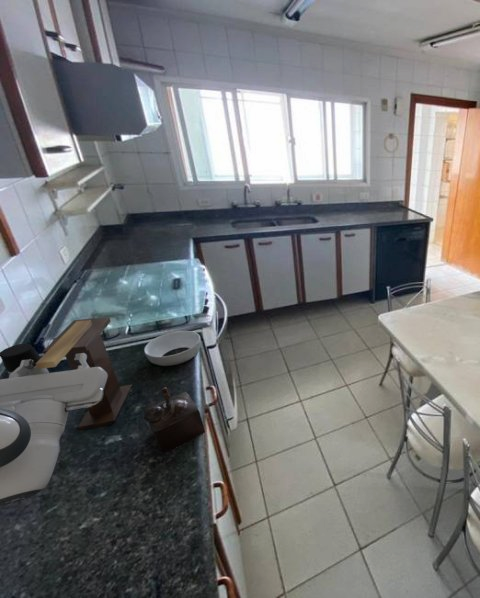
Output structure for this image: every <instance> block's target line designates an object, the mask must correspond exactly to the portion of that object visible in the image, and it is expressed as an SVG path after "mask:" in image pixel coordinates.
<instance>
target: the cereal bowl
mask: <svg viewBox="0 0 480 598" xmlns="http://www.w3.org/2000/svg"><path fill="white" fill-rule="evenodd" d="M201 347H202V339H201V336H200V334H199V333H198V332H196V331H193V330H177V331H172V332H171V331H170V332H167V333H163V334H161V335H159V336H157V337H155V338H153V339H152V340H150V341H149V342H148V343H146V345H145V346H144V349H143V351H144V354H145V357H146V358H147V360H148V361H149V362H150V363H152V364H153V365H155V366H162V367H171V366H176V365H180V364H183V363H186V362H188V361H190V360H191V359H192V358H194V357H195V356H196V355H198V353H199V351H200V350H201ZM181 348H182V349H183V348H187V349H186V350H184V351H181V352H179V353H175V354H171V355H166V354H167V353H168V352H171V351H173V350H176V349H181ZM164 355H165V356H164Z"/></svg>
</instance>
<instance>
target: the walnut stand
mask: <svg viewBox="0 0 480 598" xmlns="http://www.w3.org/2000/svg"><path fill="white" fill-rule="evenodd" d="M85 320H91V322H92V326H91V327H90V328H89V329H88V330H87V331H86V333H85V334H84V335H83V336H82V337H81V338H80V339H79V341H78V342H77V343H76V344H75V345H74V346H73V347H72V349H71V350H70V351H69V352H68V353H67V354H66V355H65V358H66V361H67V363H68V366H69V368H70V370H77V369H78V366H80V365H81V363H77V361H75V360H74V359H75V357H76V356H75V355H76V354H80V353H85V354H86V355H87V359H86V362H87V364H88V365H89V367H90V368H92V367H101V368H102V369H103V370H105V371H106V372H107V374H108V377H107V381H106V384H105V387H104V389H103V398H102V400H101V401H100V402H99V403H98V404H96V405H93V407H91V408H87V411H86V412H85V414H84V415H83V417H82V419H81V420H80V422H79V423H78V426H77V429H78V431H83V430H88V429H93V428H98V427H102V426H106V425H112V424H115V423H116V422H117V419H118V417H119V415H120V413H121V411H122V409H123V406H124V405H125V403H126V401H127V398H128V396H129V394H130V392H131V390H132V388H133V384H127V385H121V386H120V383H119V382H118V379H117V375H116V373H115V370H114V367H113V364H112V362H111V359H110V356H109V353H108V351H107V348H106V345H105V343H104V340H103V337H102V333H104V331H105V330H106V329H107V327H108V326H109V325H110V323H111V319H110V316H107V317H106V316H105V317H95V318H85V319H73V320H72V321H71V322H70V323H69V324H68V325H67V326H66V327H65V328H64V329H63V330H62V331H61V332H60V333H59V335H57V336H56V337H55V338H54V339H53V340H52V341H51V342H50V343H49V345H48V346H47V347H45V348H44V349H43V350H42V353H43V355H44V354H45V353H46V352H47V351H48V350H49V349H50V348H51V347H52V346H53V345H54V344H55V343H56V342H57V341H58V340H59V339H60V338H61V337H62V336H63V335H64V334H65V333H66V332H67V331H68V330H69V329H70V328H71V327H72V326H73V325H74V324H75V323H76V322H77V321H85ZM81 366H82V365H81ZM93 404H94V403H93Z"/></svg>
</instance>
